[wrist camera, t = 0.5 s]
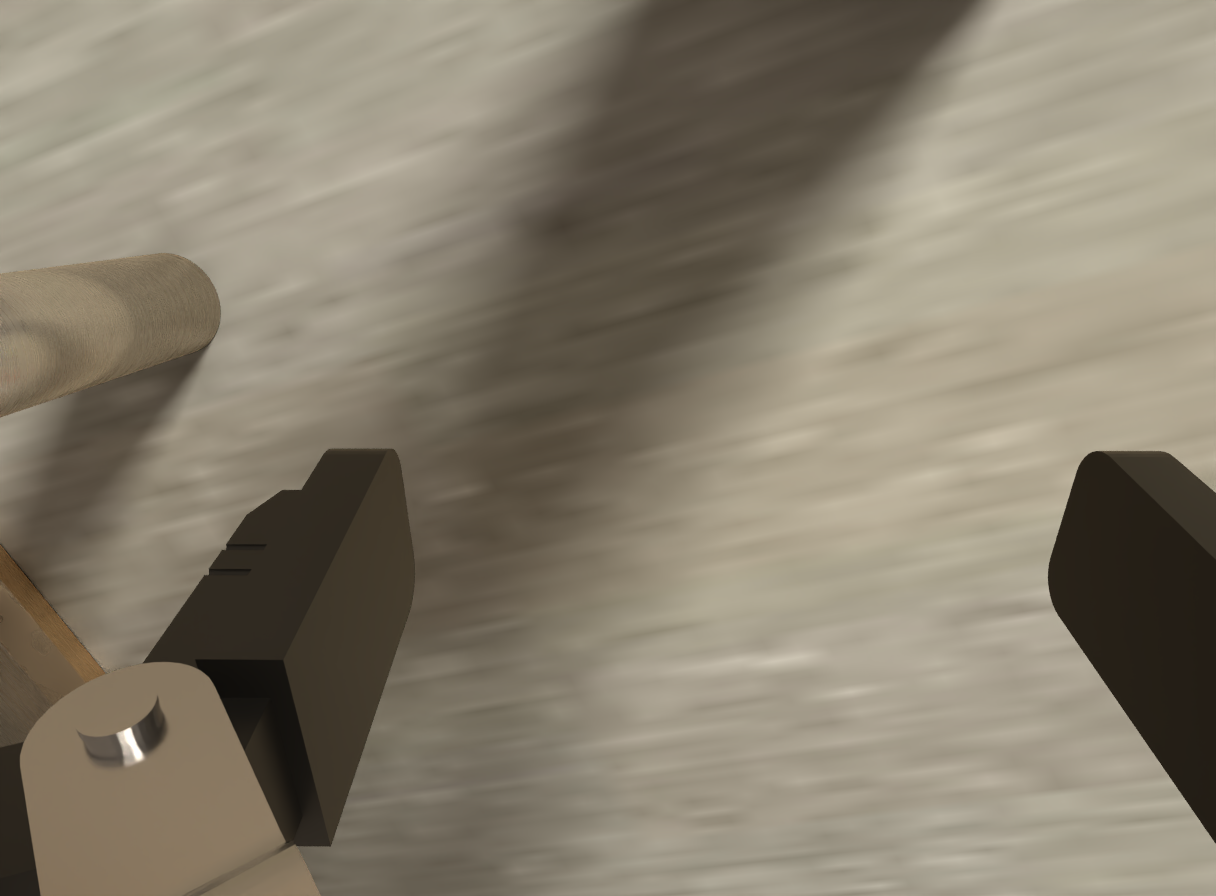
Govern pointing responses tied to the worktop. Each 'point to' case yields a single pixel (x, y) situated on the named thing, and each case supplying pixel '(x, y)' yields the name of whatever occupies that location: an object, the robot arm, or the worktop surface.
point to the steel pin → (98, 323)
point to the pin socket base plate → (34, 655)
